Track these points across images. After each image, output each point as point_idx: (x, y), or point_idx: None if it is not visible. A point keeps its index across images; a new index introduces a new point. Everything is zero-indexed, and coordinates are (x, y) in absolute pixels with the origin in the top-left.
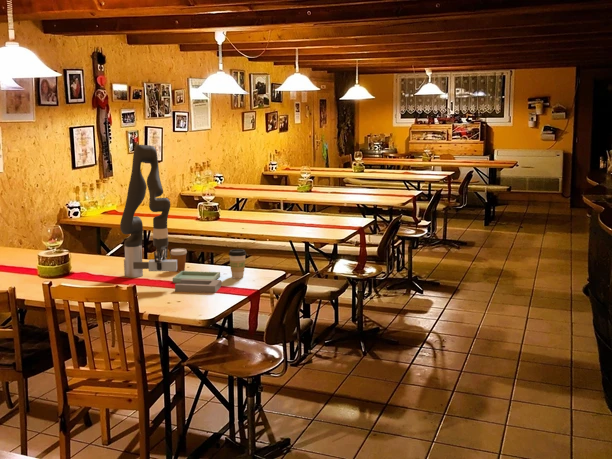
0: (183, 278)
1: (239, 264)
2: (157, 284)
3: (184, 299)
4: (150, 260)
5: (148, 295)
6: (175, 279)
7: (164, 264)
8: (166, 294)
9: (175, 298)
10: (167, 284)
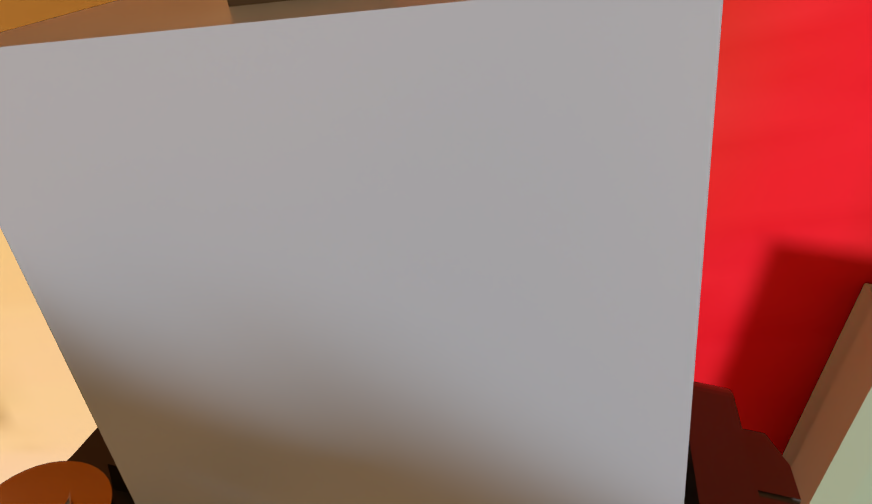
0: (823, 495)
1: None
2: (795, 8)
3: (57, 453)
4: (343, 117)
5: (57, 15)
6: (864, 366)
7: None
8: None
9: (57, 376)
10: (754, 207)
